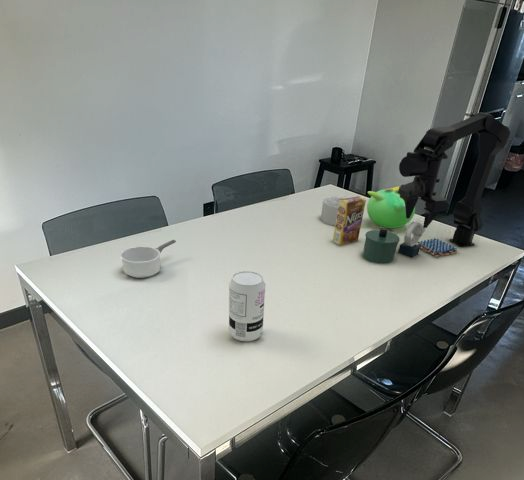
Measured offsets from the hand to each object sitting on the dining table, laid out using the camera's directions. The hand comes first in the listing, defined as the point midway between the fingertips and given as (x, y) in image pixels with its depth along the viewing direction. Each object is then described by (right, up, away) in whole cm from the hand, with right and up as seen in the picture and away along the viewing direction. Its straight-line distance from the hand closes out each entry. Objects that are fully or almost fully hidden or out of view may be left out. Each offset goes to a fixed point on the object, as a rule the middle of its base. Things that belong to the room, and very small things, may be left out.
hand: (416, 222), depth 151 cm
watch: (-1, -9, +6) cm, 11 cm away
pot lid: (-12, -5, -2) cm, 13 cm away
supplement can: (-55, -38, -39) cm, 78 cm away
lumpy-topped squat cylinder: (-22, +9, +30) cm, 38 cm away
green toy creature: (-2, +6, +28) cm, 29 cm away
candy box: (-21, -3, +13) cm, 25 cm away
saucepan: (-84, -17, -12) cm, 87 cm away
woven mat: (+10, -7, +10) cm, 16 cm away
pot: (-12, -11, +2) cm, 16 cm away
